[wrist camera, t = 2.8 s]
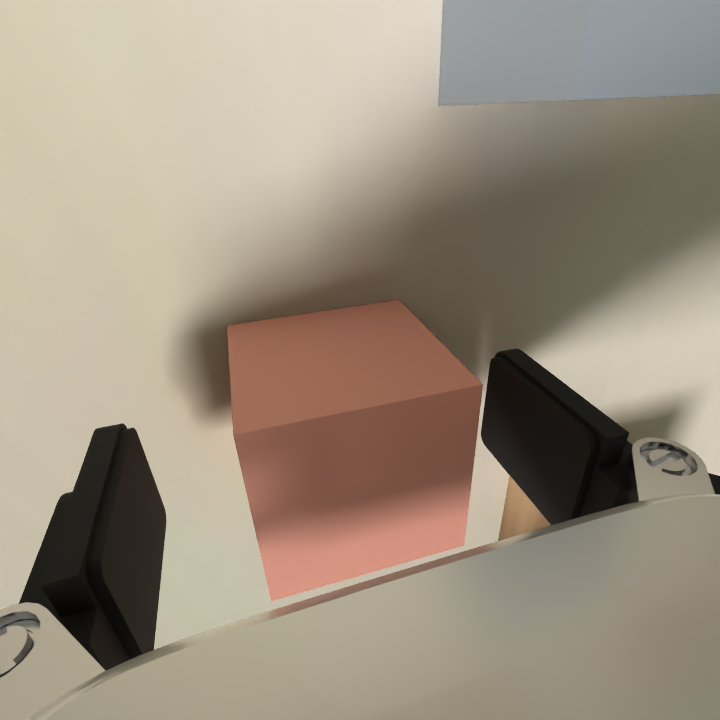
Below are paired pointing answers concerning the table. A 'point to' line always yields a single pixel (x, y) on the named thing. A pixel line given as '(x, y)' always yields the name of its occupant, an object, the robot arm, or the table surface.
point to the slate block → (577, 50)
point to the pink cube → (351, 441)
